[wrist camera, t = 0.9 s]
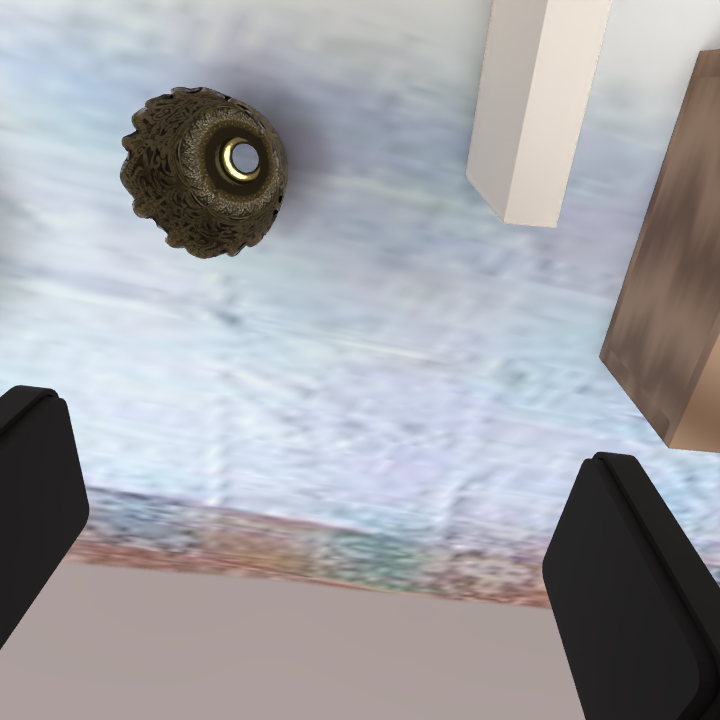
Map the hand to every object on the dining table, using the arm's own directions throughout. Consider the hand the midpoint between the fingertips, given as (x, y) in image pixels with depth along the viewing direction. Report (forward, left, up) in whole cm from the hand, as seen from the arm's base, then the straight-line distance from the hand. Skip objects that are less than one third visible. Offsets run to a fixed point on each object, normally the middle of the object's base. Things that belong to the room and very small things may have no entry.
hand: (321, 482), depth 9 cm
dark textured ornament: (-2, -8, -25) cm, 26 cm away
